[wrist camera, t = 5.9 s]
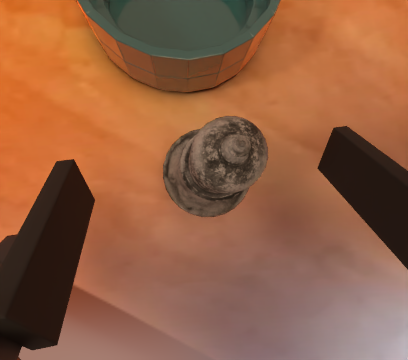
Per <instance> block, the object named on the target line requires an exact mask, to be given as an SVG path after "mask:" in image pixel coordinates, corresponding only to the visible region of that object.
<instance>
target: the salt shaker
mask: <svg viewBox="0 0 408 360" xmlns="http://www.w3.org/2000/svg"><path fill="white" fill-rule="evenodd" d="M267 160H268V147H267V144H266V140H265V138H264V136H263V134H262V133H261V131H260V130H259V129H258V128H257V127H256V126H255V125H254V124H253V123H251V122H250V121H248V120H246V119H244V118H240V117H237V116H224V117H220V118H216V119H215V120H213V121H211V122H209V123H207V124H206V125H205V126H204V127H203V128H201V129H198V130H194V131H191V132H189V133H187V134H185V135H183V136H181V137H180V138H179V139H178V140H177V141H176V142H175V143H174V144H173V145H172V146H171V148H170V150H169V151H168V153H167V155H166V158H165V162H164V165H163V179H164V183H165V187H166V190H167V192H168V193H169V195H170V197H171V199H172V200H173V201H174V202H175V203H176V204H177V205H178V206H179V207H180V208H181V209H183V210H185V211H187V212H188V213H190V214H193V215H197V216H201V217H215V216H219V215H222V214H225V213H227V212H229V211H230V210H232V209H234V208H235V207H236V206H237V205H238V204H239V203H240V202H241V201H242V200H243V198H244V197H245V195H246V193H247V191H248V189H249V187H250V186H252V185H253V184H254V183H255V182H256V181H257V180H258V179H259V178H260V176H261V175H262V173H263V171H264V169H265V167H266V163H267Z"/></svg>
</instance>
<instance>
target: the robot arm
mask: <svg viewBox="0 0 408 360" xmlns="http://www.w3.org/2000/svg"><path fill="white" fill-rule="evenodd" d="M318 169H319V171H320V172H321V173H322V174H323V175H324V176H325V177H326V178H327V179H328V181H329V182H330V183H331V184H332V185H333V186H334V187H335V188H336V190H337V191H338V192H339V193H340V194H341V195H342V196H343V197H344V199H345V200H346V201H347V202H348V203H349V204H350V205H351V206H352V207H353V209H354V210H355V211H356V212H357V213H358V214H359V215H360V216H361V218H362V219H363V220H364V221H365V222H366V223H367V224H368V225H369V227H370V228H371V229H372V230H373V231H374V232H375V233H376V234H377V236H378V237H379V238H380V239H381V240H382V241H383V242H384V243H385V244H386V246H387V247H388V248H389V249H390V250H391V251H392V252H393V253H394V255H395V256H396V257H397V258H398V259H399V260H400V261H401V262H402V264H403V265H404V266H405V267H406V268H407V269H408V171H407V170H406V169H405V168H403V167H402V166H400V165H399V164H398V163H396V162H395V161H394V160H392V159H391V158H390V157H388V156H387V155H385V154H384V153H383V152H381V151H380V150H379V149H377V148H376V147H375V146H373V145H372V144H371V143H369V142H368V141H366V140H365V139H364V138H362V137H361V136H360V135H358V134H357V133H356V132H354V131H353V130H351V129H350V128H349V127H347V126H343V127H335V128H333V130H332V133H331V135H330V138H329V140H328V143H327V145H326V148H325V151H324V153H323V156H322V158H321V161H320V163H319V166H318ZM94 202H95V199H94V197H93V195H92V193H91V191H90V189H89V187H88V185H87V184H86V182H85V180H84V178H83V176H82V174H81V172H80V170H79V168H78V166H77V164H76V162H75V160H74V159H72V160H64V161H56V163H55V165H54V167H53V169H52V171H51V173H50V175H49V176H48V178H47V180H46V182H45V184H44V186H43V188H42V190H41V191H40V193H39V195H38V197H37V199H36V201H35V203H34V205H33V206H32V208H31V210H30V212H29V214H28V216H27V218H26V220H25V222H24V223H23V225H22V227H21V229H20V231H19V233H18V234H17V235H11V236H7V237H6V238H5V239H4V240H3V241H2V242H1V243H0V360H21V359H20V358H19V357H18V356H19V353H20V350H21V347H22V346H23V347H26V348H28V349H30V350H36V349H41V348H46V347H51V346H55V345H57V344H58V340H59V336H60V332H61V328H62V324H63V321H64V317H65V313H66V309H67V305H68V301H69V298H70V294H71V290H72V286H73V282H74V278H75V275H76V271H77V267H78V263H79V259H80V255H81V252H82V248H83V244H84V240H85V236H86V232H87V229H88V225H89V221H90V217H91V213H92V210H93V206H94Z"/></svg>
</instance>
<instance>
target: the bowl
mask: <svg viewBox="0 0 408 360" xmlns="http://www.w3.org/2000/svg"><path fill="white" fill-rule="evenodd" d="M76 1H77V3H78V5H79V7H80V9H81V10H82V12H83V14H84V16H85V18H86V20H87V21H88V23H89V25H90V27H91V29H92V31H93V32H94V34H95V36H96V38H97V39H98V41H99V42H100V44H101V46H102V47H103V49H104V50H105V52H106V54H107V55H108V57H109V58H110V59H111V60H112V61H113V62H114V63H115V64H117V65H118V66H119V67H120V68H121V69H122V70H124V71H125V72H126V73H127V74H128V75H129V76H131V77H132V78H134V79H136V80H138V81H141V82H143V83H145V84H147V85H150V86H152V87H154V88H157V89H160V90H169V91H178V92H192V91H197V90H202V89H208V88H213V87H215V86H217V85H219V84H221V83H222V82H224V81H226V80H228V79H229V78H231V77H233V76H235V75H236V74H238V73H239V71H240V70H241V69H242V68H243V67H244V66H245V65H246V63H247V62H248V61H249V60H250V59H251V58H252V57H253V55H254V54H255V52H256V50H257V48H258V46H259V44H260V42H261V40H262V38H263V36H264V34H265V32H266V30H267V28H268V26H269V25H270V23H271V21H272V19H273V17H274V15H275V13H276V10H277V8H278V5H279V3H280V0H76Z"/></svg>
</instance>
